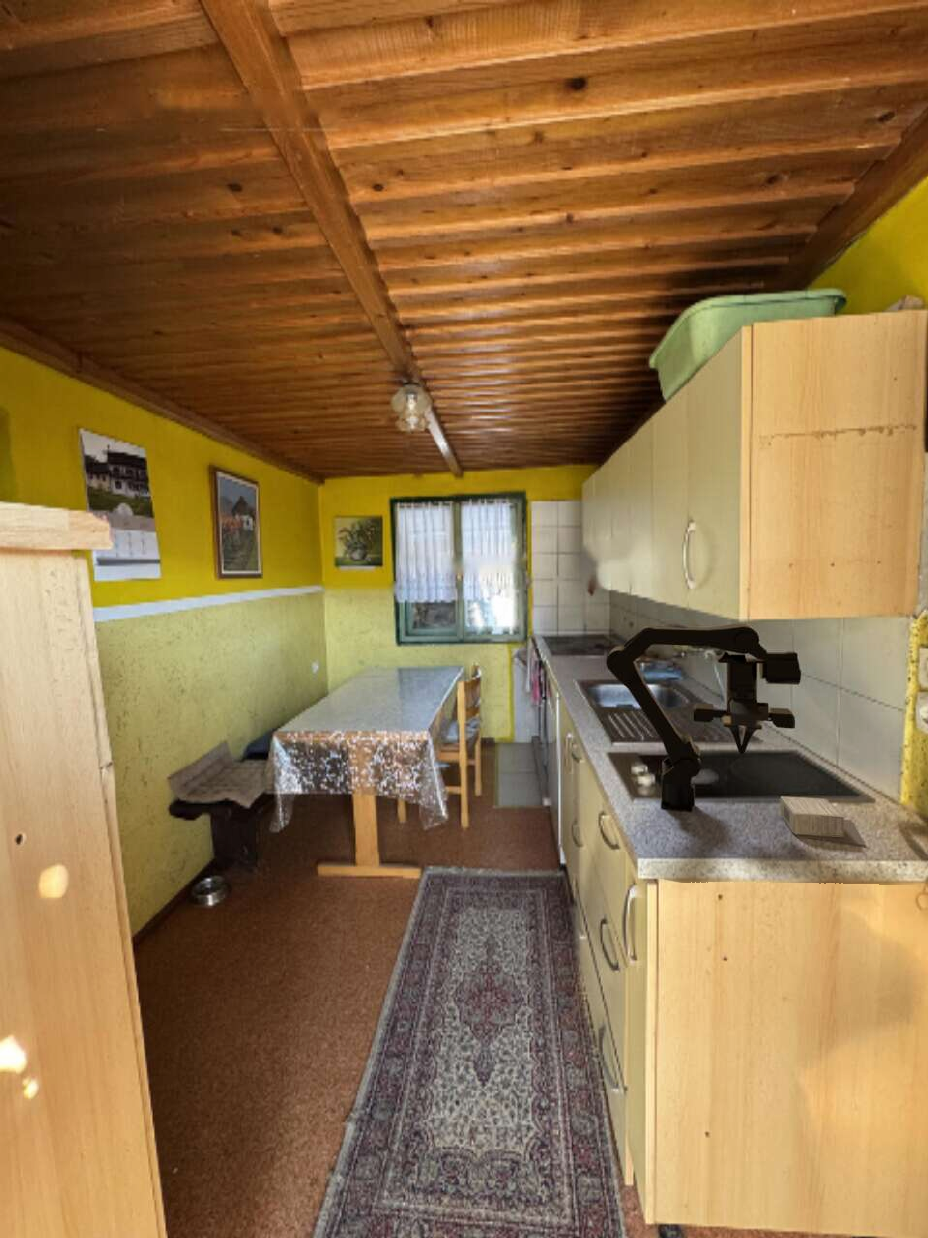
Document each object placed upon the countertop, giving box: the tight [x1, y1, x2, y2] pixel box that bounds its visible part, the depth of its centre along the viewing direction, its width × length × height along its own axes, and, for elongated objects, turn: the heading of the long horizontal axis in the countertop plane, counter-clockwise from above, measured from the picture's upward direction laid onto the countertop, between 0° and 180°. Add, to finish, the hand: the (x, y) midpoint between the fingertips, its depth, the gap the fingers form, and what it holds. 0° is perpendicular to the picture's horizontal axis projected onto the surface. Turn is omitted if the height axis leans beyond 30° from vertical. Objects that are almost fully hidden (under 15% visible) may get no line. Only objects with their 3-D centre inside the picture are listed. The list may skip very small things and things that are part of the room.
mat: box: [795, 819, 867, 848], centre depth 101 cm, size 11×10×1 cm
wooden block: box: [780, 795, 845, 837], centre depth 102 cm, size 8×4×9 cm
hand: (741, 753), depth 109 cm, fingers closed
